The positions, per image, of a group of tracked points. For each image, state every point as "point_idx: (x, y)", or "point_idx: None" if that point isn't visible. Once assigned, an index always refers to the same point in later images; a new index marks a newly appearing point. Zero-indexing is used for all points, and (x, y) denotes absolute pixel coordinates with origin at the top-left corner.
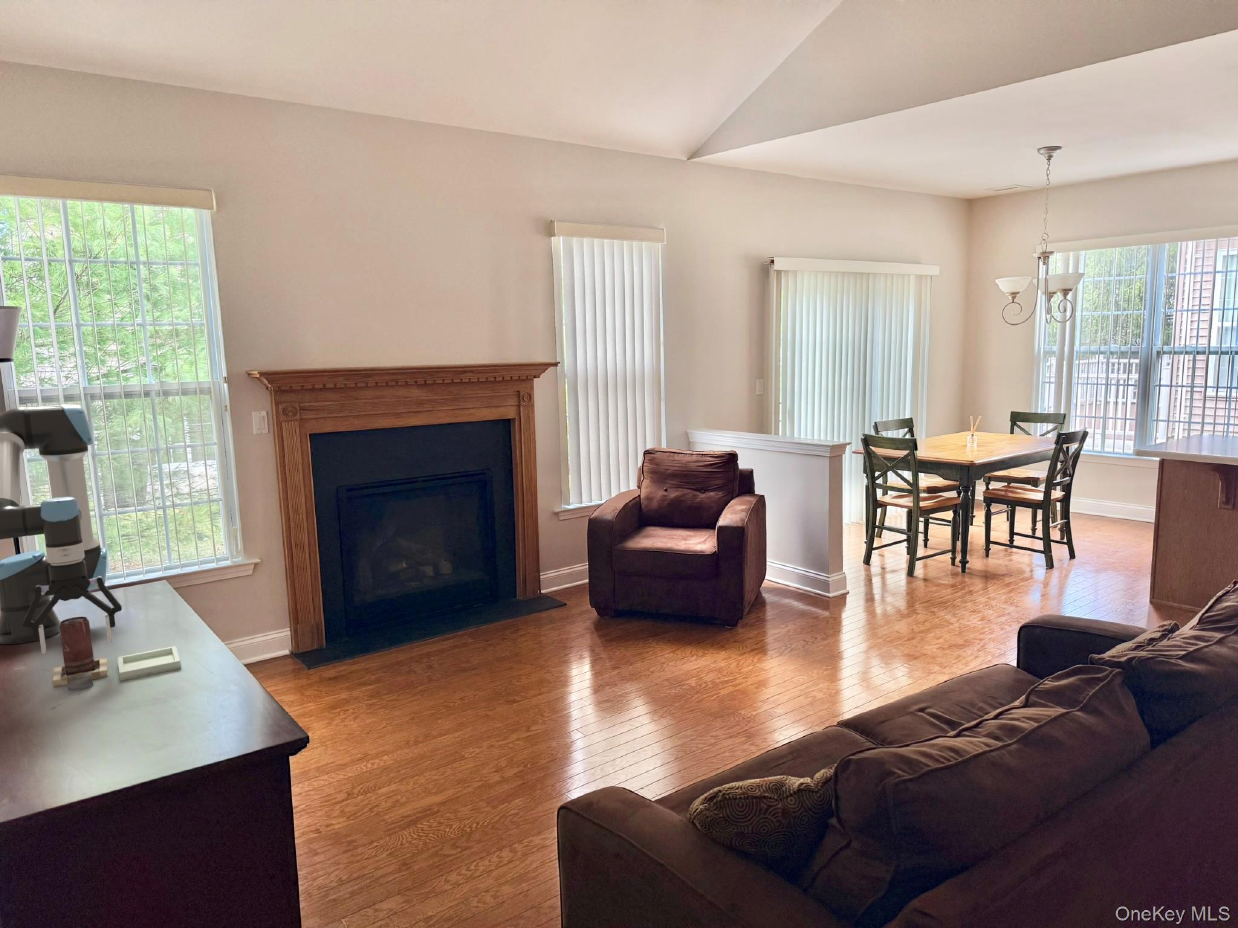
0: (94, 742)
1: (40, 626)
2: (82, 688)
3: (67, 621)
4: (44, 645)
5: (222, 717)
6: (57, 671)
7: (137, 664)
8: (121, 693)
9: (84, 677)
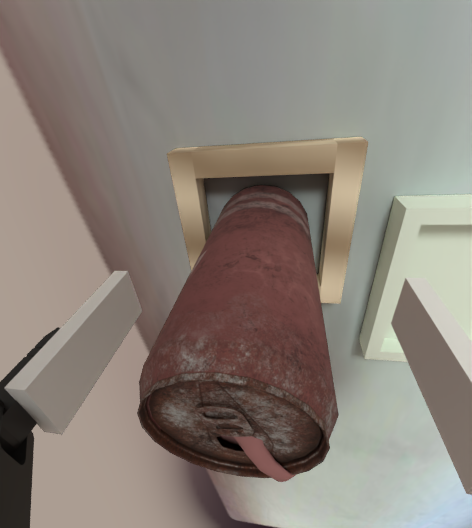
0: (288, 484)
1: (34, 411)
2: None
3: (181, 401)
4: (123, 338)
5: (440, 515)
6: (191, 222)
7: (444, 267)
8: (345, 398)
9: None
